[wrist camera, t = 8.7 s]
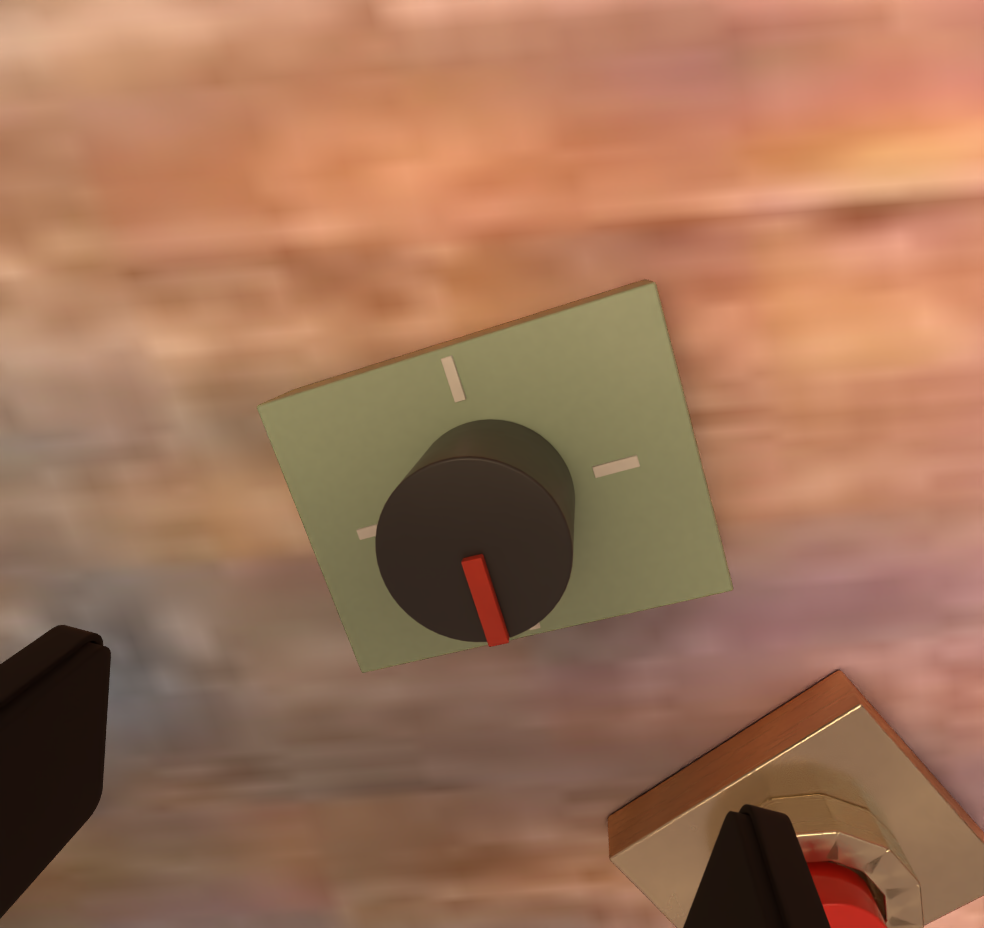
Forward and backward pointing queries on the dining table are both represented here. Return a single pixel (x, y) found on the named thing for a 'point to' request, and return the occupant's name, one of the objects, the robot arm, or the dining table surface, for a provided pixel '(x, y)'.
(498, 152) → the dining table surface
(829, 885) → the button
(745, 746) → the button box
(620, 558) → the dial panel
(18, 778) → the robot arm
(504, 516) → the dial knob
